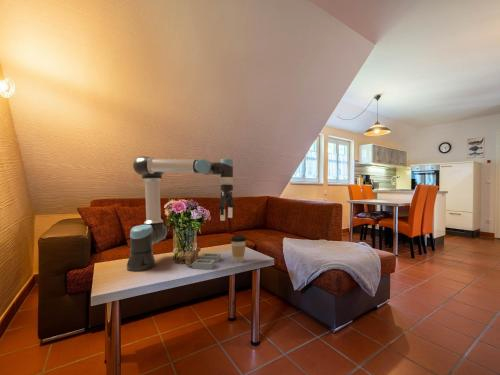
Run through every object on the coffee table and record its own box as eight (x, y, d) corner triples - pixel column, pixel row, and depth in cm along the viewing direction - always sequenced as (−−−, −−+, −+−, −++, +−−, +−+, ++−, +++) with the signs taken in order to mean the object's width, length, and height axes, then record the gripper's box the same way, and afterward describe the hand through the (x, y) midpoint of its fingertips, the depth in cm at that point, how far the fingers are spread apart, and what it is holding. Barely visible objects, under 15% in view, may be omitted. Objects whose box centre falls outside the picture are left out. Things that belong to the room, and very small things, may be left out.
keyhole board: (192, 268, 131) (192, 262, 131) (203, 258, 151) (203, 253, 151) (211, 269, 130) (211, 263, 130) (220, 258, 150) (220, 253, 150)
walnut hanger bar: (181, 267, 132) (181, 255, 132) (193, 258, 151) (193, 247, 151) (190, 268, 132) (190, 255, 132) (201, 258, 151) (201, 247, 151)
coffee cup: (247, 258, 149) (247, 235, 149) (245, 263, 139) (245, 238, 139) (232, 258, 150) (232, 235, 150) (229, 263, 140) (229, 238, 140)
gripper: (225, 183, 129) (225, 222, 129) (238, 184, 153) (238, 216, 153) (213, 183, 131) (212, 221, 131) (227, 184, 155) (227, 216, 155)
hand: (226, 219), depth 142 cm, fingers open, 13 cm apart
